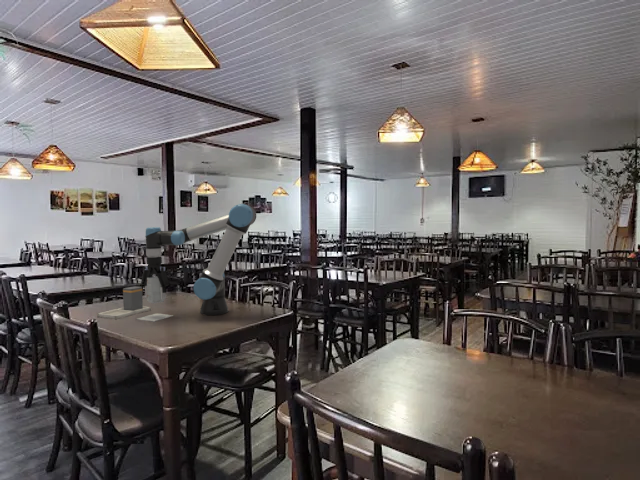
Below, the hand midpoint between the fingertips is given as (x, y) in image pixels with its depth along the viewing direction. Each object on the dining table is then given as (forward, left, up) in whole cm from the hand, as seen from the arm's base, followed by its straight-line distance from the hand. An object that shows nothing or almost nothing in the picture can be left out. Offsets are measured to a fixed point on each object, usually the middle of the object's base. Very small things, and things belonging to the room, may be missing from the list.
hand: (155, 298), depth 223 cm
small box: (0, 0, -2) cm, 2 cm away
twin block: (+23, -7, -10) cm, 26 cm away
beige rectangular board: (+23, -1, -10) cm, 26 cm away
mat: (0, 0, -10) cm, 10 cm away
